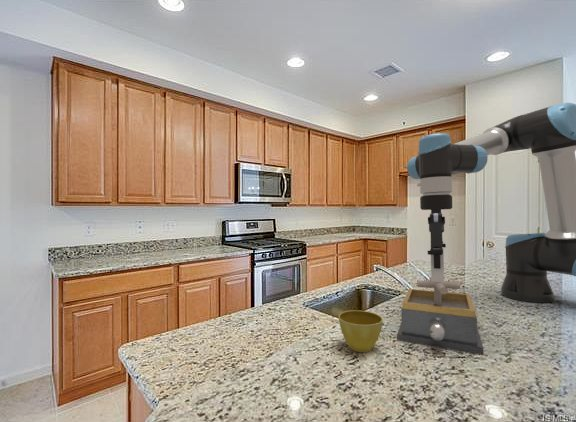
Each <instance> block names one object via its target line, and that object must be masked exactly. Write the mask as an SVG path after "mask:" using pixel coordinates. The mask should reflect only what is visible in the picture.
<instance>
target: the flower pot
mask: <svg viewBox="0 0 576 422" xmlns="http://www.w3.org/2000/svg"><path fill="white" fill-rule="evenodd" d="M338 322H339V327H340V329H341V330H340V331H341V333H342V336H343V338H344V341H345V342H346V344H347V345H348V347H349V348H350V349H351V350H352V351H354V352H358V353H367V352H368V353H369V352H370V351H372V349H373V348H374V346H375V345H376V343H377V341H378V339H379V337H380V334H381V332H382V328H383V327H382V326H383V323H384V319H383V316H381V315H379V314H378V313H375V312H371V311H368V310H367V311H366V310H357V309H356V310H355V309H354V310H346V311H343V312H341V313H340V314H338Z"/></svg>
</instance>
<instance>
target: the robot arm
mask: <svg viewBox="0 0 576 422" xmlns="http://www.w3.org/2000/svg"><path fill="white" fill-rule="evenodd" d="M529 149H530V150H531V155H533V156H535V158H537V159H538V162H539V169H540V176H541V182H542V189H543V194H544V200H545V201H544V202H545V207H546V214H547V220H548V226H549V230H548V231H547V232H546V233H545V232H537V233H536V232H534V233H519V234H518V233H517V234H510V235H508V236H507V237H505V238H506V239H505V246H504V248H505V268H506V269H505V270H506V274H505V277H504V279H503V282H502V284H501V287H500V294H501V295H502V296H503V295H504V297H505V296H506V297H505V298H509V299H512V300H517V301H521V302H522V301H523V302H529V303H552V302H554V301H555V293H554V291H553V289H552V286H551V284H550V281H549V279H548V272H549V273H557V274H564V275H569V276H573V277H576V104H575V103H573V102H563V103H558V104H554V105H550V106H548V107H544V108H541V109H538V110H535V111H531V112H528V113H524V114H520V115H517V116H515V117H512V118H510V119H507V120H506V121H504V122H501V123H499V124H497V125H494V126H492V127H489V128H487V129H486V130H484V131H483V133H481V134H478V135H475V136H473V137H470V138H466V139H464V140H460V141H458V142H456V143H452V140H451V136H450V135H449V134H448V133H444V132H441V133H440V132H439V133H431V134H427V135H424V136H422V137H420V139H419V141H418V154H417V155H416V156H413V157H411V158H410V159H409V160H408V161H407V164H406V170H407V173H408V175H409V177H410V178H412V179H413V180H419V181H420V182H418V183H417V185H416V186H417V187H420V189H419V194H421V196H420V199H419V201H420V202H419V204H420V205H419V206H420V207H419V208H420V209H421V210H422V211H429V210H430V213H429V216H428V217H427V224H428V231H429V233H430V250H427V255H430V277H431V281H432V282H444V281H445V265H444V264H445V263H444V262H445V258H444V257H445V255H444V248H446V247H447V246H446V243H444V241H443V233H445V224H446V217H445V216H443V213H442V210H451V209H453V195H452V194H450V193H453V177H452V175H456V174H474V173H475V174H476V173H479V172H481V171H482V170H483V169H484V168H485V167H486V165H487V164H488V160H489V159H488V158H489V157H488V156H489V155H492V156H497V155H500V154H504V153H508V152H510V153H511V152H515V151H516V152H517V151H523V150H524V151H525V150H529Z"/></svg>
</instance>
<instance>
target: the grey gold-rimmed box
mask: <svg viewBox="0 0 576 422" xmlns="http://www.w3.org/2000/svg"><path fill="white" fill-rule="evenodd" d="M400 310H401V311H400V313H401V315H400V316H401V323H400V325H399V327H398V331H397V332H396V340H397V341H402V342H407V343H414V344H418V345H425V346H430V347H435V346H436V348H441V347H442V348H443V349H447V348H448V350H453V351H459V352H466V353H472V354H478V355H484V346H483V342H482V338H481V335H480V332H479V328H478V317H477V313H476V308H475V306H474V303H473V300H472V296H471V294H470V293H469V294H467V293H461V292H460V293H459V292H449V291H448V293H447V294H442V305H436V304H434V290H427V289H419V288H417V289H416V288H408V289H407V292H406V294H405V296H404V299H403V300H402V306H401V309H400Z"/></svg>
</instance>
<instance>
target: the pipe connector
mask: <svg viewBox="0 0 576 422" xmlns="http://www.w3.org/2000/svg"><path fill="white" fill-rule="evenodd" d="M416 287H417V288H428V289H429V288H430V289H431V288H432V289H433V291H434V304H436V305H442V294H447V293H448V292H449V290H448V289H453V290H460V289H461V282H460V281H445V280H444V282H432V281H431V276H430V277H429V279H428V280H419V279H418V280H417V281H416Z"/></svg>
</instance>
